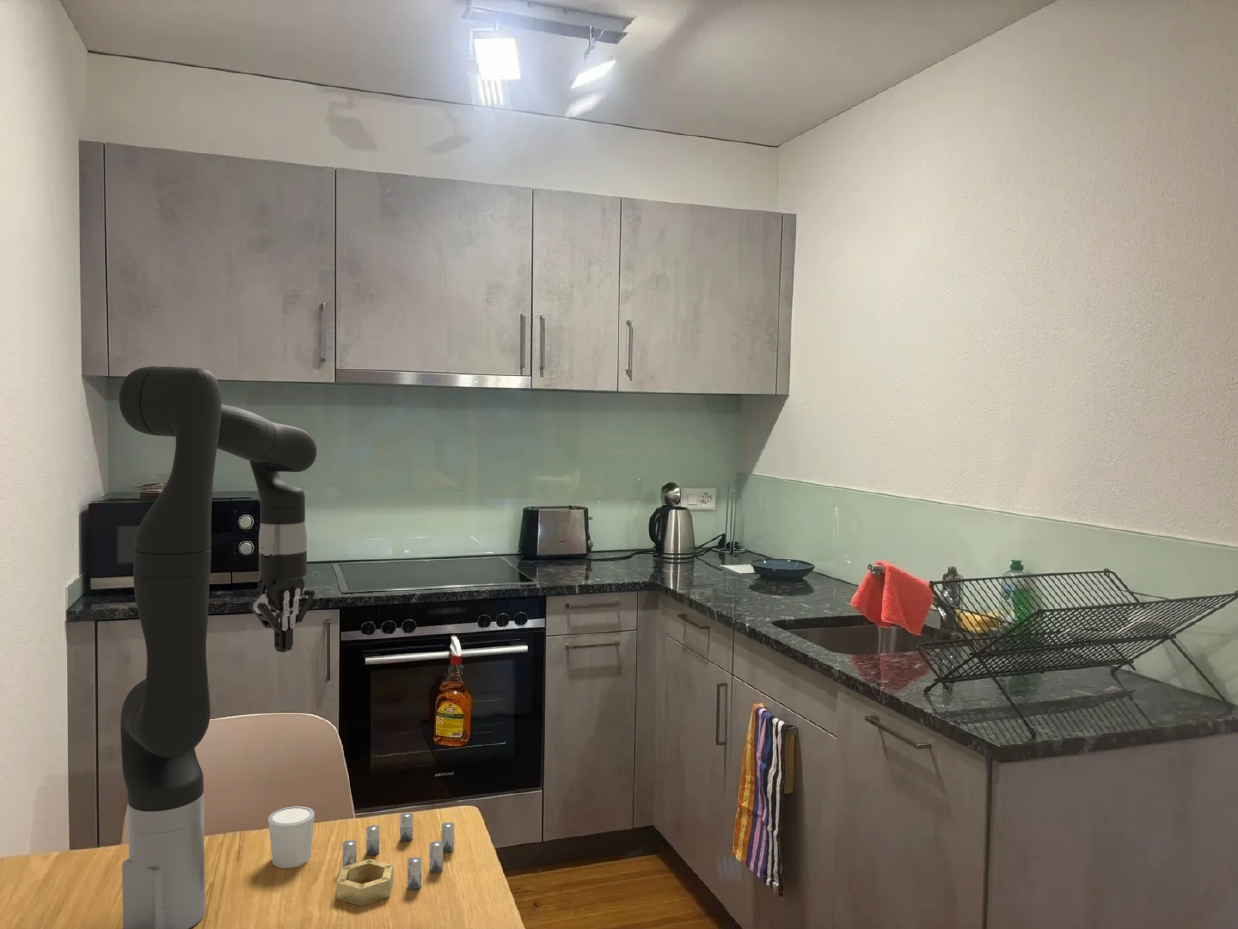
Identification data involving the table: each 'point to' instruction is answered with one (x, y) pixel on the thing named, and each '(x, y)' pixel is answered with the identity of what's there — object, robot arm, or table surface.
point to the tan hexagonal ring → (369, 891)
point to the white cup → (291, 836)
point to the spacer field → (405, 836)
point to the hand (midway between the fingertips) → (283, 650)
